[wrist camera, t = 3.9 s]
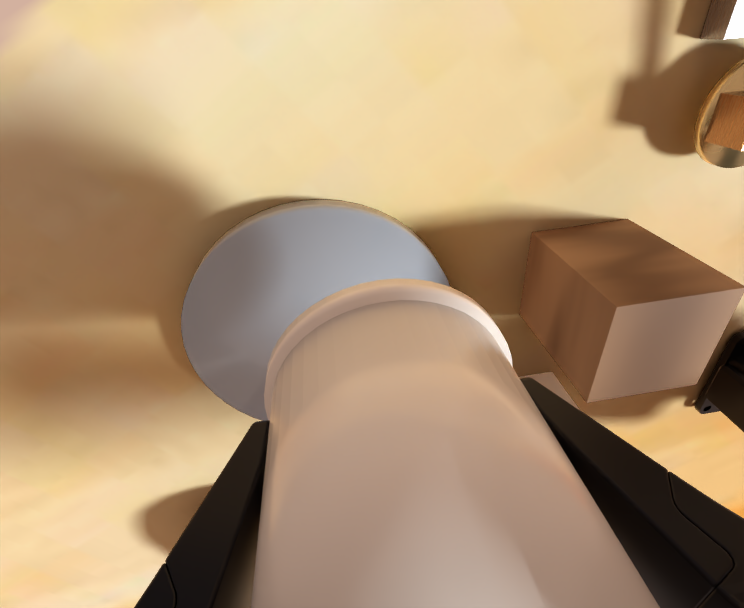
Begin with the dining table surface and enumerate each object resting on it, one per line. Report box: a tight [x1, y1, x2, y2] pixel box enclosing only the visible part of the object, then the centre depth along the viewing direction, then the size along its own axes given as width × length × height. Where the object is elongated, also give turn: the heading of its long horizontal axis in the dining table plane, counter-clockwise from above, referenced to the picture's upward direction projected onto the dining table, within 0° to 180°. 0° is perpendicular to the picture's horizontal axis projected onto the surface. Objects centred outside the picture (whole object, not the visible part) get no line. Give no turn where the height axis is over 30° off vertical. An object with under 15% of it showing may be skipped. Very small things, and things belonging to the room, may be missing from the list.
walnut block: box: [520, 219, 744, 403], centre depth 17 cm, size 4×4×6 cm
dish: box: [181, 199, 450, 421], centre depth 19 cm, size 12×12×1 cm
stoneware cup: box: [251, 278, 660, 608], centre depth 8 cm, size 6×6×7 cm
